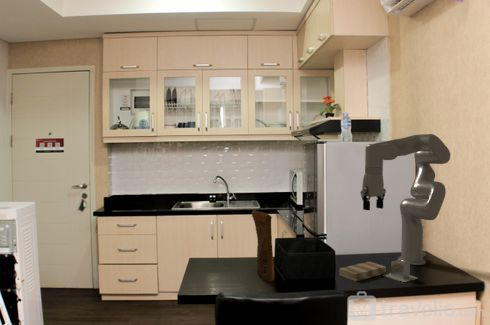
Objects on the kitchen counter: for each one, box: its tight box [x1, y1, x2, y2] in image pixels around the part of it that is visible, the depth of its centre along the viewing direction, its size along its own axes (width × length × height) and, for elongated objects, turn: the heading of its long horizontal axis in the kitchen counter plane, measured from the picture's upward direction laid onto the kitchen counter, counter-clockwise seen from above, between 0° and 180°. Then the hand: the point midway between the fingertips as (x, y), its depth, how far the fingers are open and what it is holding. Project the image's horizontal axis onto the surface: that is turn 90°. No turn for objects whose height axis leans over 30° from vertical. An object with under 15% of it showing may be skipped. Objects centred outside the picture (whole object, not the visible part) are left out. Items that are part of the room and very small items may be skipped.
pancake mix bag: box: [251, 209, 275, 283], centre depth 154 cm, size 7×19×28 cm, turn 15°
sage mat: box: [382, 272, 419, 283], centre depth 154 cm, size 10×10×1 cm
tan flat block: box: [338, 261, 387, 282], centre depth 157 cm, size 20×9×3 cm, turn 123°
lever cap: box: [390, 259, 411, 279], centre depth 154 cm, size 4×6×6 cm
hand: (373, 209), depth 160 cm, fingers open, 9 cm apart
